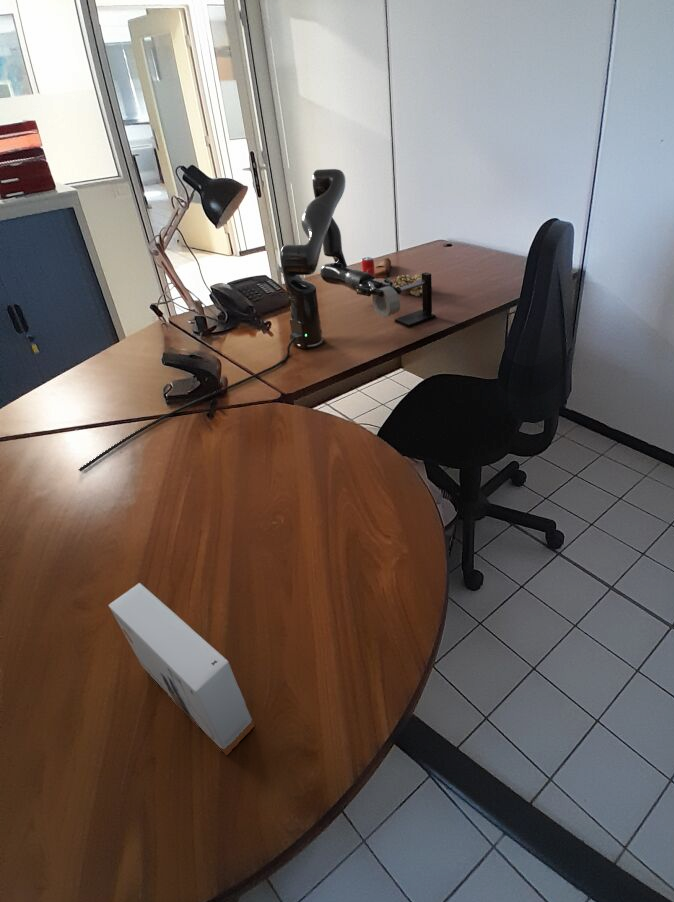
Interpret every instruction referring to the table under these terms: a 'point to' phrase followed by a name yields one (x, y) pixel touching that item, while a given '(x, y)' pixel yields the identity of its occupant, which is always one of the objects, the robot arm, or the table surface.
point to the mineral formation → (407, 281)
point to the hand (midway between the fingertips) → (389, 292)
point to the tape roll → (387, 302)
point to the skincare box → (183, 664)
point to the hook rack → (423, 314)
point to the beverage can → (368, 266)
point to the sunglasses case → (382, 268)
